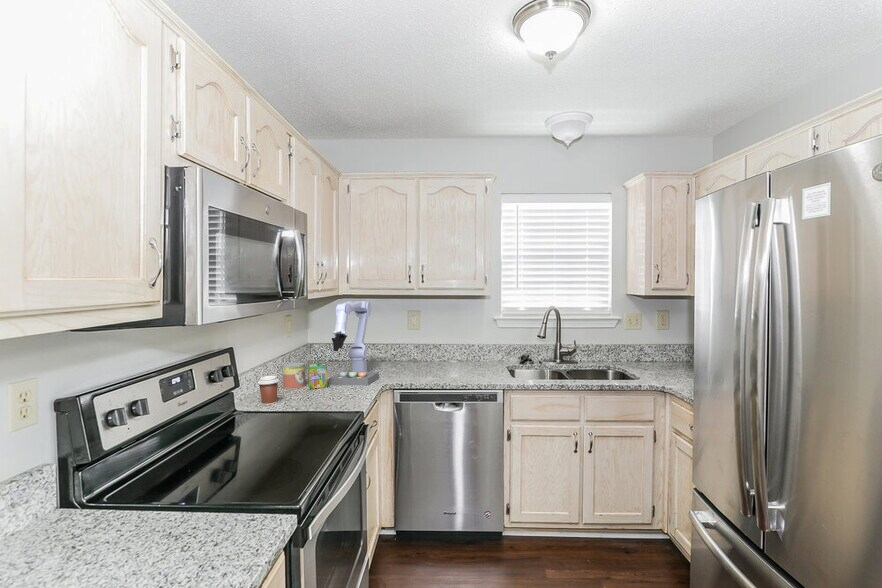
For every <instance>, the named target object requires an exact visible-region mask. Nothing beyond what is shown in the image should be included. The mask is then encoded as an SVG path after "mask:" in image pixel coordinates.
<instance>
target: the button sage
mask: <svg viewBox="0 0 882 588" xmlns="http://www.w3.org/2000/svg"><path fill="white" fill-rule="evenodd" d="M348 372H349V377H356V376H357V372H352V371H348Z"/></svg>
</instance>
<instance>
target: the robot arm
mask: <svg viewBox="0 0 882 588" xmlns="http://www.w3.org/2000/svg"><path fill="white" fill-rule="evenodd" d="M352 312H353V313H354V314H355V316H356V317H357V318H358V324H357V328H356V334H355V341H354V343H352V344H351V345H350V347H349V349H348V353H347V354H348V358H349V359H350V361H351V368H352V369H351V370H352V371H351V372H368V370H367V369H368V366H367V365H368V364H367V360H366V358H367V357H368V346H367V345H365V344H364V342H365V337H366V336H365V335H366V331H367V324H368V320H369V319H368V318H369V317H370V316H371V312H372V303H371V301H367V300H361V301H360V300H359V301H358V300H357V301H356V300H355V301H351V300H347V301H346V302H343V303H338V304H337V305H336V307H335V316H336V320H335V326H334V331H332V332H331V333H332V334H333V335H334V336H333V337H331V342H332V346H333V349H332V350H333V351H334V352H338V351H339V349H340V350H341V349H342V348H343V346H344V343H345V341H346V339H347V337H348V335H346V329H347V323H348V315H350V314H351V313H352Z"/></svg>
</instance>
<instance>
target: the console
mask: <svg viewBox="0 0 882 588" xmlns="http://www.w3.org/2000/svg"><path fill="white" fill-rule="evenodd" d="M346 372H347V377H340V372H339V373H338V374H335V375H333V376H330V377H329V379H328V384H329V385H331V386H332V385H334V386H335V385H337V386H338V385H339V386H340V385H341V386H342V385H343V386H369V385H370V384H373V383H374V382H376V381H377V380H379V378H380V373H379V372H376V371H367V372H366V377H359V372H357V376H356V377H349V372H350V371H346ZM329 385H328V386H329Z"/></svg>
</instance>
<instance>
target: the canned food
mask: <svg viewBox="0 0 882 588" xmlns="http://www.w3.org/2000/svg"><path fill="white" fill-rule="evenodd" d="M305 365H306V364H305V362H301V361H300V362H289V363H284V364H282V365H281V366H282V380H283V382H282V383H283V385H282V386H283V389H284V388H285V389H284V390H298V389H297V388H299V389H303V388H305V387H306V386H307V385H306V368H305ZM304 386H305V387H304ZM302 387H303V388H302Z"/></svg>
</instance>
